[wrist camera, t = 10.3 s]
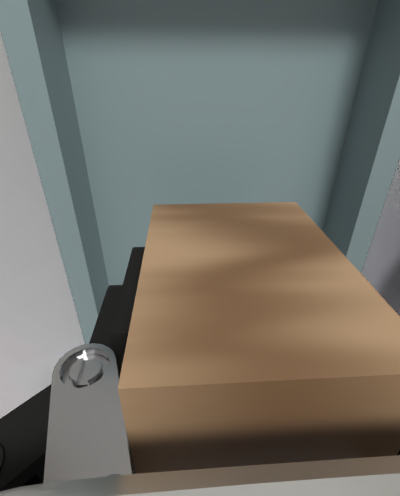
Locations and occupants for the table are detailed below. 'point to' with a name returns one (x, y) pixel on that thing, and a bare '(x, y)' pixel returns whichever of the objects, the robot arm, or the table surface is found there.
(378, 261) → the table surface
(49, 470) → the robot arm
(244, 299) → the block
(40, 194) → the table surface
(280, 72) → the tray
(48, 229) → the table surface
